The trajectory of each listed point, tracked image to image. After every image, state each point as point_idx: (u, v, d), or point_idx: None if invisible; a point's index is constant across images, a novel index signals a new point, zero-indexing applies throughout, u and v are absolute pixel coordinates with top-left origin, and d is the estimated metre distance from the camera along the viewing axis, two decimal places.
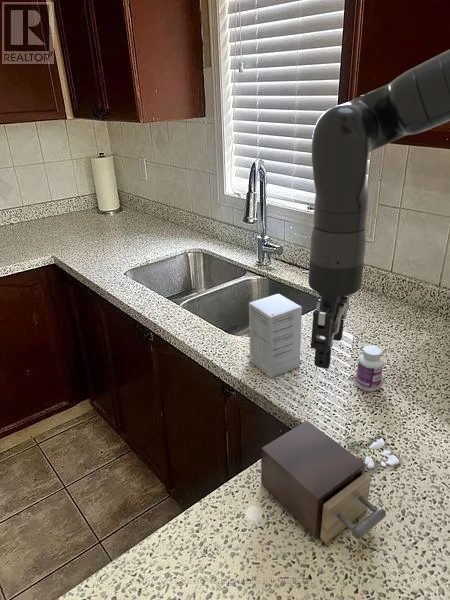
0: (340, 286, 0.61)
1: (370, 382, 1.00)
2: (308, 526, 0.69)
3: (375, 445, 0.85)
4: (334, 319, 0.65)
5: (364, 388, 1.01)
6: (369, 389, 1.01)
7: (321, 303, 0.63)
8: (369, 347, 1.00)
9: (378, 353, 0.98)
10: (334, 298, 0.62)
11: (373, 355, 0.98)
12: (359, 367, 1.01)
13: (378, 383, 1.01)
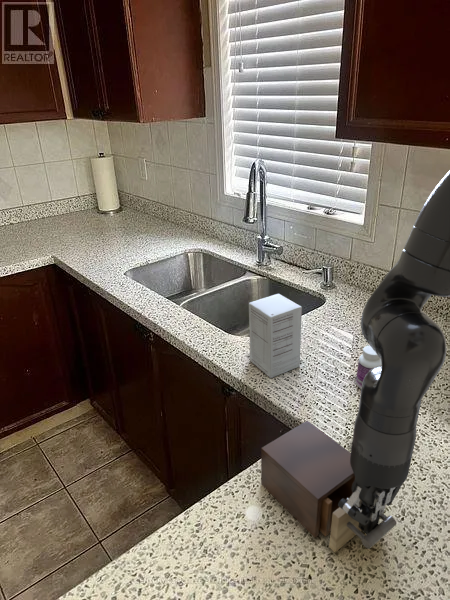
0: (372, 478, 0.57)
1: None
2: (308, 526, 0.69)
3: None
4: (367, 503, 0.60)
5: None
6: None
7: (353, 483, 0.60)
8: (369, 347, 1.00)
9: None
10: (366, 486, 0.58)
11: (373, 355, 0.98)
12: (359, 367, 1.01)
13: None
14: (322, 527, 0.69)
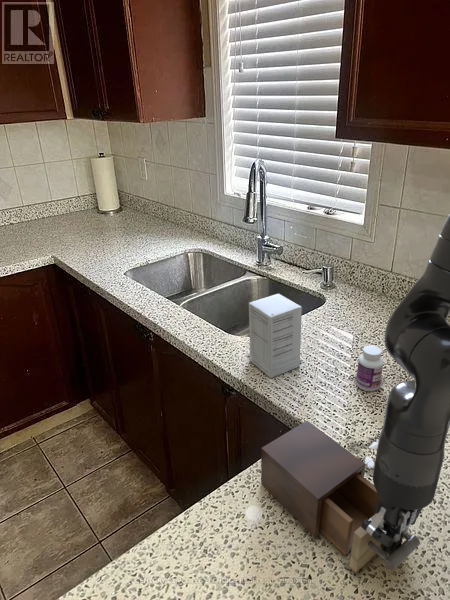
0: (398, 499, 0.54)
1: (370, 382, 1.00)
2: (308, 526, 0.69)
3: (375, 445, 0.85)
4: (392, 523, 0.58)
5: (364, 388, 1.01)
6: (369, 389, 1.01)
7: (377, 504, 0.57)
8: (369, 347, 1.00)
9: (378, 353, 0.98)
10: (391, 506, 0.55)
11: (373, 355, 0.98)
12: (359, 367, 1.01)
13: (378, 383, 1.01)
14: (341, 545, 0.66)
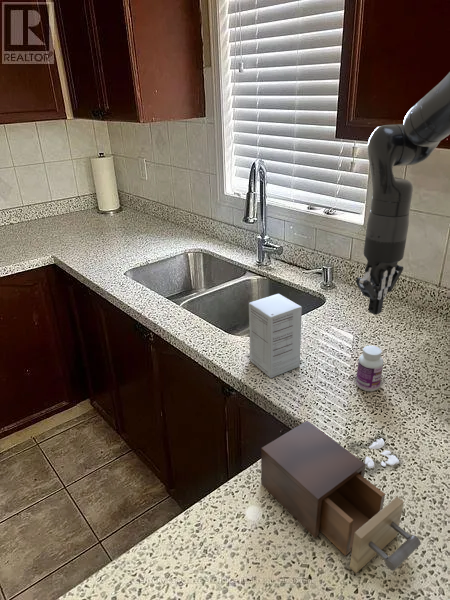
0: (379, 255, 0.85)
1: (370, 382, 1.00)
2: (308, 526, 0.69)
3: (375, 445, 0.85)
4: (375, 280, 0.88)
5: (364, 388, 1.01)
6: (369, 389, 1.01)
7: (366, 265, 0.88)
8: (369, 347, 1.00)
9: (378, 353, 0.98)
10: (375, 263, 0.86)
11: (373, 355, 0.98)
12: (359, 367, 1.01)
13: (378, 383, 1.01)
14: (341, 546, 0.66)
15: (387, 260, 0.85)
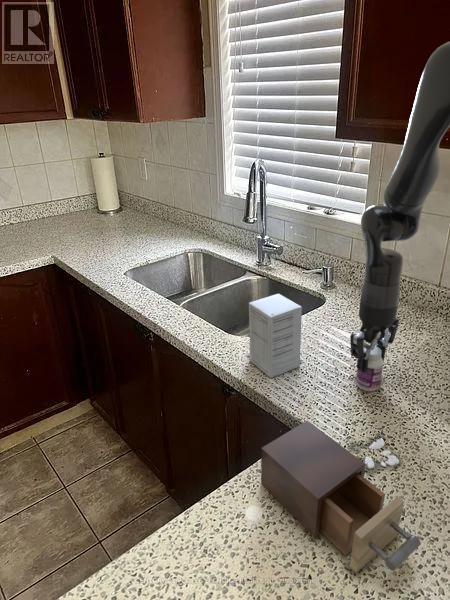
0: (373, 319, 0.92)
1: (370, 382, 1.00)
2: (308, 526, 0.69)
3: (375, 445, 0.85)
4: (370, 340, 0.95)
5: (364, 388, 1.01)
6: (369, 389, 1.01)
7: (361, 327, 0.95)
8: None
9: (378, 353, 0.98)
10: (369, 326, 0.93)
11: (373, 355, 0.98)
12: None
13: (378, 383, 1.01)
14: (341, 546, 0.66)
15: (380, 324, 0.92)
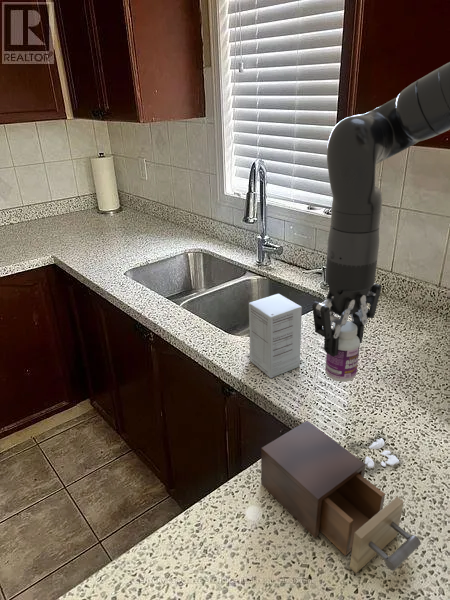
0: (342, 281, 0.67)
1: (343, 369, 0.75)
2: (308, 526, 0.69)
3: (375, 445, 0.85)
4: (340, 311, 0.70)
5: (335, 377, 0.76)
6: (341, 379, 0.76)
7: (328, 294, 0.70)
8: None
9: (353, 329, 0.73)
10: (337, 291, 0.68)
11: (345, 332, 0.73)
12: None
13: (353, 371, 0.76)
14: (341, 546, 0.66)
15: (352, 288, 0.67)
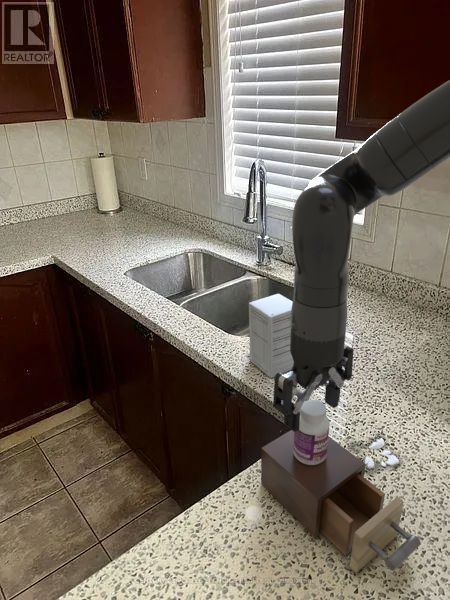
0: (307, 356, 0.60)
1: (311, 453, 0.69)
2: (308, 526, 0.69)
3: (375, 445, 0.85)
4: (306, 386, 0.64)
5: (303, 461, 0.70)
6: (310, 462, 0.70)
7: (292, 367, 0.63)
8: (309, 402, 0.69)
9: (321, 412, 0.67)
10: (302, 366, 0.62)
11: (313, 416, 0.67)
12: None
13: (323, 454, 0.70)
14: (341, 546, 0.66)
15: (318, 364, 0.60)
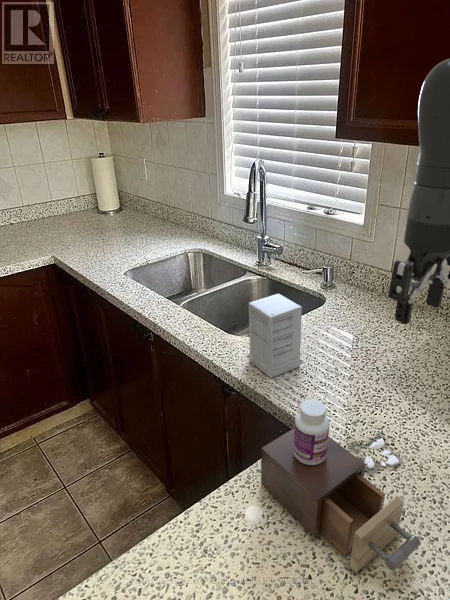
0: (428, 242, 0.63)
1: (311, 453, 0.69)
2: (308, 526, 0.69)
3: (375, 445, 0.85)
4: (421, 276, 0.66)
5: (303, 461, 0.70)
6: (310, 462, 0.70)
7: (408, 257, 0.66)
8: (309, 402, 0.69)
9: (321, 412, 0.67)
10: (421, 253, 0.64)
11: (313, 416, 0.67)
12: (295, 431, 0.70)
13: (323, 454, 0.70)
14: (341, 546, 0.66)
15: (438, 249, 0.63)
